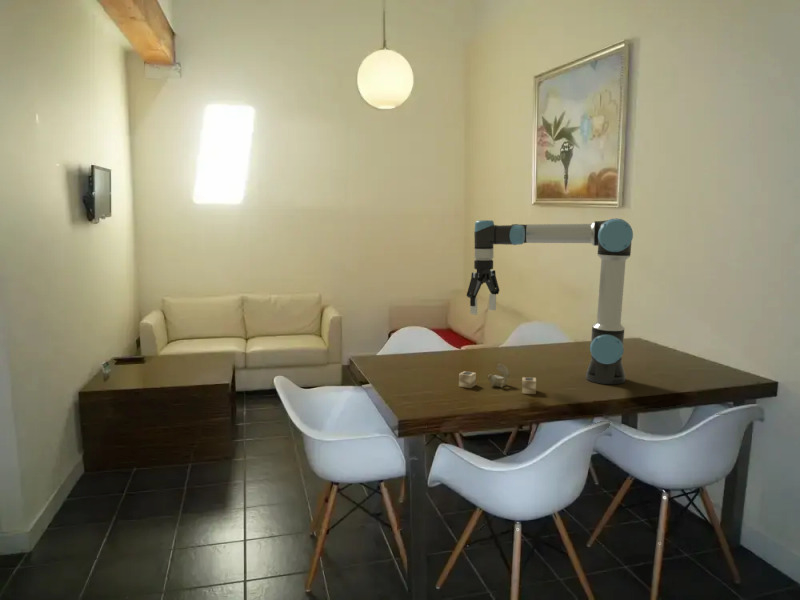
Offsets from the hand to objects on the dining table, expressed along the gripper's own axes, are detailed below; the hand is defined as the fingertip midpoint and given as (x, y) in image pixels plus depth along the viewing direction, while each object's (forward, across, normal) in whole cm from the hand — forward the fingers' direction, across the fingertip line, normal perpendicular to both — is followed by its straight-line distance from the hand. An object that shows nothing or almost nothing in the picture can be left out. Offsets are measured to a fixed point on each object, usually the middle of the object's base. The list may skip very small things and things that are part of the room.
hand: (483, 312), depth 251 cm
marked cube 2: (+28, +5, +24) cm, 37 cm away
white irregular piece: (+28, +6, +12) cm, 31 cm away
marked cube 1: (+28, +13, +1) cm, 30 cm away
